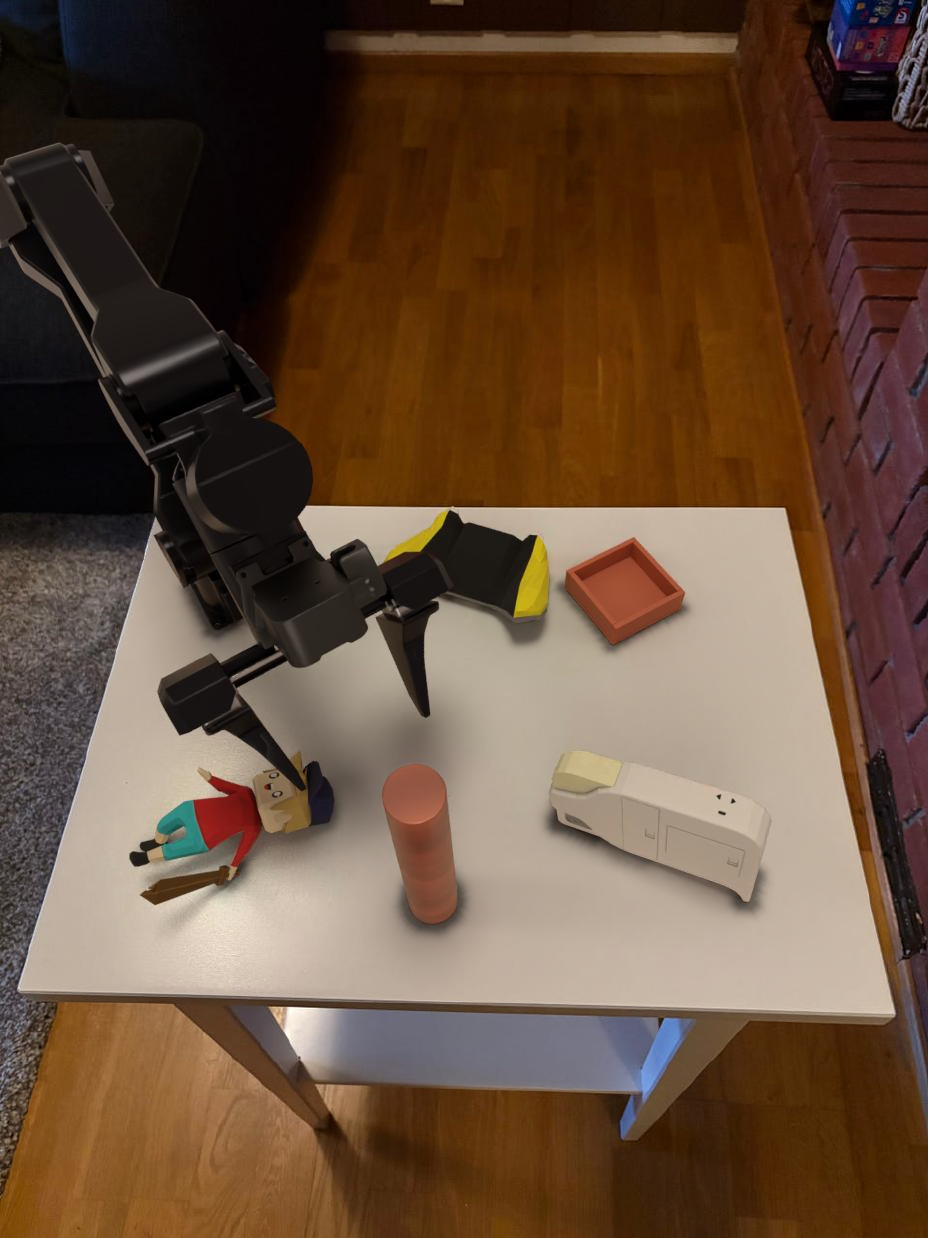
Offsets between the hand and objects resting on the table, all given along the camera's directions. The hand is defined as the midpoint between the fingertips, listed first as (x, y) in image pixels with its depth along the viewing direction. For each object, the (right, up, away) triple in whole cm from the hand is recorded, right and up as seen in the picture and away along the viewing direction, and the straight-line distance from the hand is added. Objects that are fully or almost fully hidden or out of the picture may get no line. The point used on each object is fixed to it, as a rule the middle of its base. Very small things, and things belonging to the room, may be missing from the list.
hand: (366, 751), depth 56 cm
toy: (-10, -9, +11) cm, 17 cm away
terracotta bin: (+21, +11, +23) cm, 32 cm away
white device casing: (+20, -9, +9) cm, 24 cm away
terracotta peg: (+4, -12, +7) cm, 15 cm away
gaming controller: (+7, +12, +24) cm, 28 cm away
